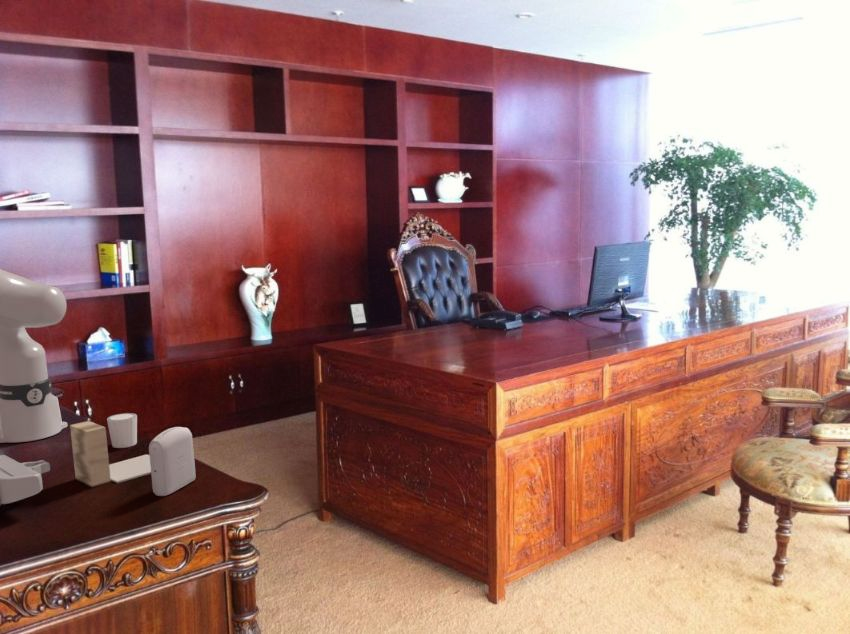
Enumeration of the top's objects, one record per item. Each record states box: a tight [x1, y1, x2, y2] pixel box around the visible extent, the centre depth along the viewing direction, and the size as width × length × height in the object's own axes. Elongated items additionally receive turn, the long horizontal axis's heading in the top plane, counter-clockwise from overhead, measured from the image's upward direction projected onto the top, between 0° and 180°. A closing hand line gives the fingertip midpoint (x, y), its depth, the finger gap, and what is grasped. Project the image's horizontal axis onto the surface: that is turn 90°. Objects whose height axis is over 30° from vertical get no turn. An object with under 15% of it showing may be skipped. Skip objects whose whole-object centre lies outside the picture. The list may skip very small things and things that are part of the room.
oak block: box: [69, 420, 112, 488], centre depth 171 cm, size 8×4×12 cm, turn 47°
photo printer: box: [148, 426, 197, 497], centre depth 165 cm, size 10×4×12 cm, turn 158°
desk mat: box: [109, 454, 151, 484], centre depth 178 cm, size 12×13×1 cm
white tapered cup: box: [106, 412, 138, 449], centre depth 196 cm, size 7×7×7 cm
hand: (47, 465), depth 164 cm, fingers closed
